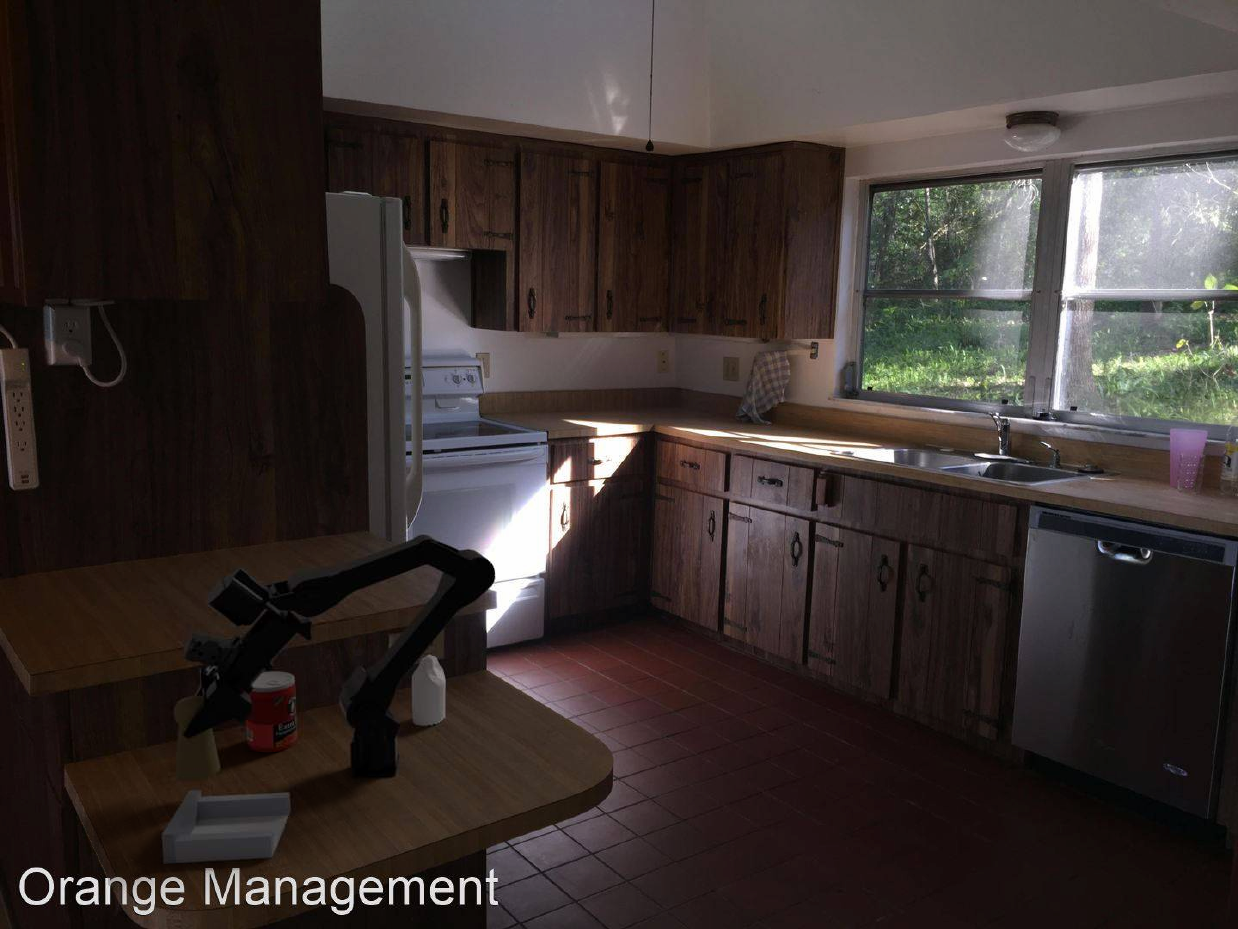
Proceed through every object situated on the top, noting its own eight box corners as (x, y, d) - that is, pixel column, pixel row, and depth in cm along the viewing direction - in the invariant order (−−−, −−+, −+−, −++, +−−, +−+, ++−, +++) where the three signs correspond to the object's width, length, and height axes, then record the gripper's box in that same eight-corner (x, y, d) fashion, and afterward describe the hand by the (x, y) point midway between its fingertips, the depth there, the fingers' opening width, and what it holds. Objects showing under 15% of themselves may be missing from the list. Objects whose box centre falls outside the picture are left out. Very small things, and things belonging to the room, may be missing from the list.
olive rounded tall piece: (183, 762, 149) (178, 691, 147) (225, 761, 149) (221, 690, 147) (168, 781, 143) (163, 708, 141) (212, 780, 143) (207, 706, 141)
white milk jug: (430, 646, 178) (452, 652, 174) (432, 710, 180) (453, 718, 176) (403, 654, 173) (425, 662, 170) (405, 721, 175) (426, 729, 172)
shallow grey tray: (290, 812, 143) (289, 786, 143) (272, 857, 131) (270, 829, 131) (191, 817, 142) (189, 790, 141) (163, 863, 130) (161, 834, 129)
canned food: (282, 755, 161) (279, 690, 160) (237, 750, 163) (234, 685, 161) (306, 735, 169) (303, 673, 167) (263, 731, 170) (260, 669, 169)
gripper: (212, 595, 152) (137, 676, 149) (221, 631, 135) (136, 723, 133) (270, 637, 157) (198, 717, 154) (285, 677, 140) (205, 767, 137)
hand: (184, 729), depth 144 cm, fingers closed on olive rounded tall piece, 5 cm apart
